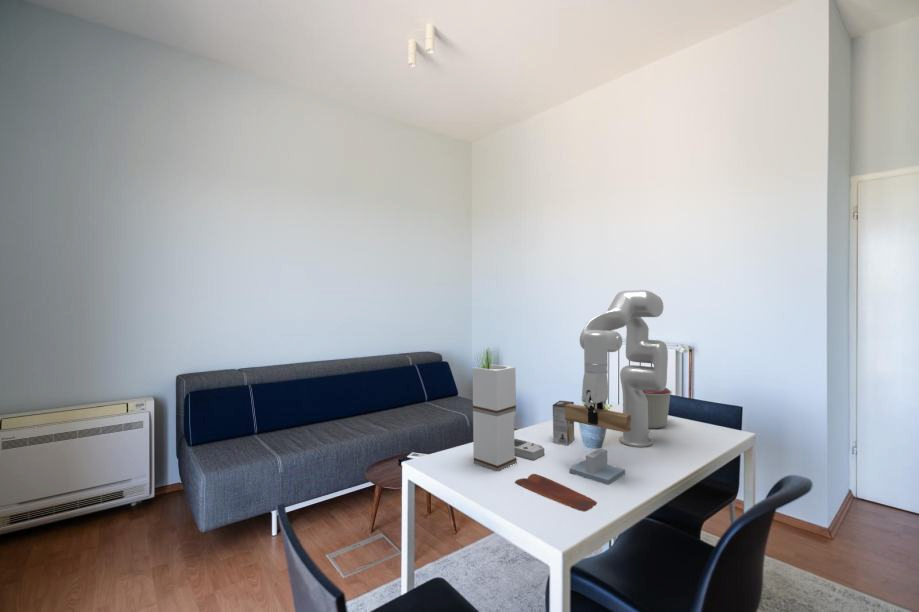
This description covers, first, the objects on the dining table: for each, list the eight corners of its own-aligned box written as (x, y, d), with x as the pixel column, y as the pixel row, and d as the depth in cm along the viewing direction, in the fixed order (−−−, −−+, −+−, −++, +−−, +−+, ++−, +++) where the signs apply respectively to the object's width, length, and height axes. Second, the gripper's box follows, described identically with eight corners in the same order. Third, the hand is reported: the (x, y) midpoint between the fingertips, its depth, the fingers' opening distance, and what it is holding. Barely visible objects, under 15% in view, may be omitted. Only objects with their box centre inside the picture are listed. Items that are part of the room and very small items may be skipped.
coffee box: (559, 437, 185) (559, 400, 184) (574, 439, 181) (574, 401, 181) (552, 443, 177) (552, 404, 177) (568, 445, 173) (567, 406, 173)
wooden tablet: (512, 484, 139) (512, 479, 139) (533, 476, 145) (533, 471, 145) (581, 516, 118) (581, 510, 118) (602, 504, 124) (602, 499, 124)
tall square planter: (516, 463, 156) (515, 367, 155) (497, 471, 148) (496, 370, 148) (492, 455, 164) (491, 364, 163) (473, 463, 156) (472, 367, 156)
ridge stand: (587, 462, 155) (586, 443, 155) (624, 473, 145) (624, 453, 145) (569, 472, 146) (569, 452, 146) (608, 484, 136) (608, 462, 136)
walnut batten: (571, 417, 155) (571, 403, 155) (631, 430, 139) (631, 414, 139) (565, 419, 152) (565, 405, 152) (625, 432, 136) (625, 417, 136)
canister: (654, 433, 187) (654, 385, 187) (621, 423, 203) (620, 379, 203) (680, 427, 196) (680, 381, 196) (646, 418, 212) (646, 375, 212)
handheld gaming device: (533, 462, 158) (533, 451, 158) (501, 452, 168) (501, 443, 168) (546, 455, 164) (546, 445, 164) (514, 447, 174) (514, 437, 174)
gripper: (597, 364, 154) (598, 415, 154) (573, 370, 142) (573, 425, 142) (617, 366, 148) (618, 419, 149) (593, 372, 137) (594, 429, 137)
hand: (596, 421), depth 145 cm, fingers closed on walnut batten, 4 cm apart
